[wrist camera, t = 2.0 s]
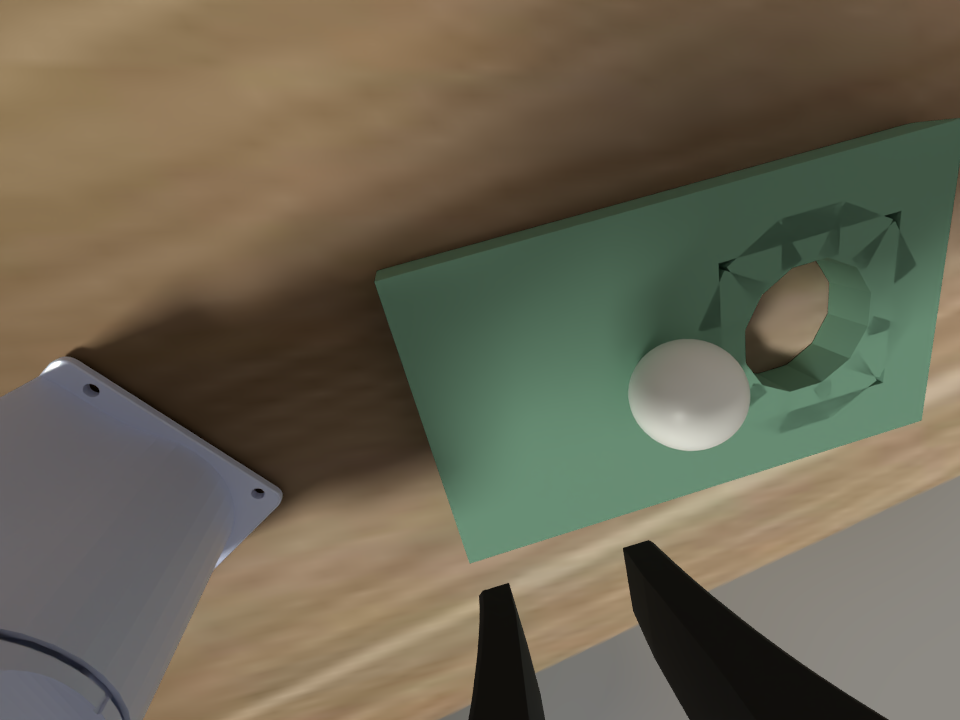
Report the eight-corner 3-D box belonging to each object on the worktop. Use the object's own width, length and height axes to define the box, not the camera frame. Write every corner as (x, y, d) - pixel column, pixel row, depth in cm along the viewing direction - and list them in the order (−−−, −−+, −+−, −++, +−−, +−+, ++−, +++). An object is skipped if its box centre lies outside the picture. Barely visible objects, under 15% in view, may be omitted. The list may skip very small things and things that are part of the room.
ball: (590, 376, 18) (638, 426, 15) (669, 303, 18) (740, 336, 14) (647, 435, 20) (704, 494, 16) (722, 370, 19) (799, 416, 16)
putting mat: (463, 531, 23) (469, 563, 21) (376, 270, 18) (374, 281, 16) (881, 401, 24) (921, 420, 22) (911, 123, 19) (966, 117, 17)
